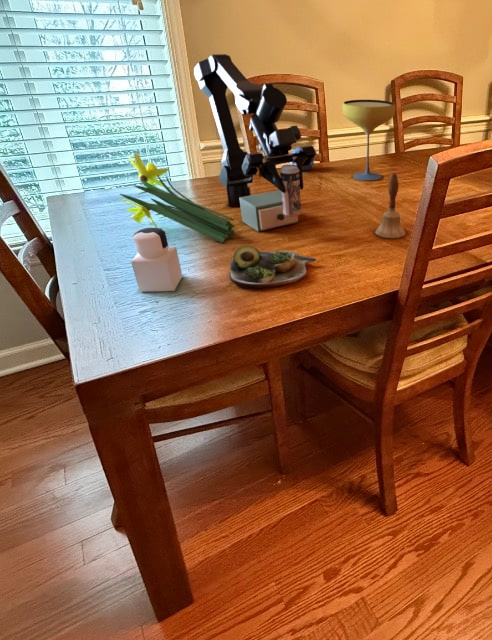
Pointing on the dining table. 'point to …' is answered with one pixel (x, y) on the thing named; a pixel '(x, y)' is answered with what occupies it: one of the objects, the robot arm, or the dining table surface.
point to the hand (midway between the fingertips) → (293, 190)
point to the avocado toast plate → (266, 267)
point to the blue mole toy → (310, 164)
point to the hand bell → (391, 214)
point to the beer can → (291, 190)
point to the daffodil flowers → (176, 205)
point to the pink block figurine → (155, 261)
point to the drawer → (274, 217)
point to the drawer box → (259, 207)
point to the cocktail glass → (368, 123)
